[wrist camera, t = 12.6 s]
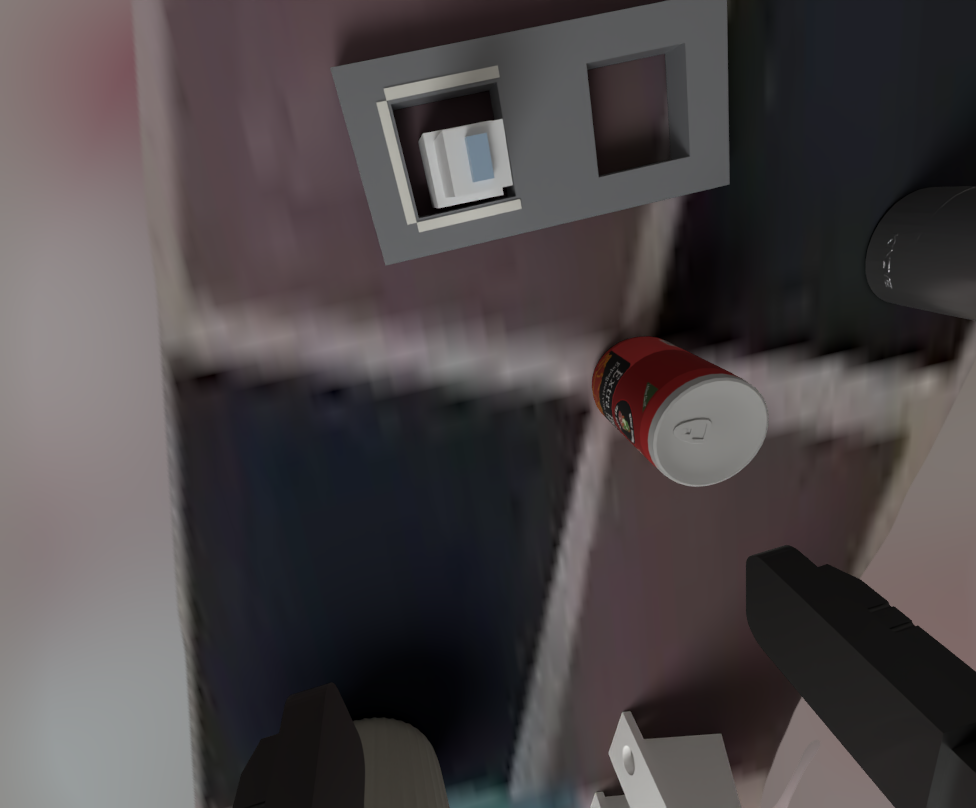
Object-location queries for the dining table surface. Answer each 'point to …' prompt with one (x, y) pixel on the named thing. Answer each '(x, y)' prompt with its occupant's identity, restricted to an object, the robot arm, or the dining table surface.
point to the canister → (399, 766)
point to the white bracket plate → (669, 771)
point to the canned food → (680, 410)
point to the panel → (543, 121)
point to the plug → (465, 163)
